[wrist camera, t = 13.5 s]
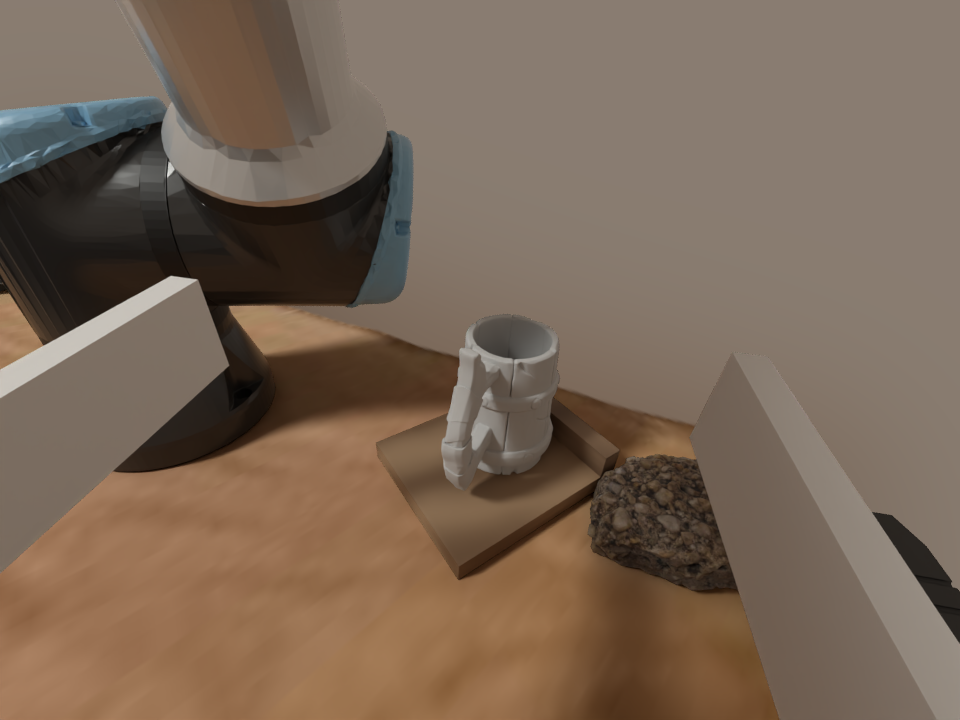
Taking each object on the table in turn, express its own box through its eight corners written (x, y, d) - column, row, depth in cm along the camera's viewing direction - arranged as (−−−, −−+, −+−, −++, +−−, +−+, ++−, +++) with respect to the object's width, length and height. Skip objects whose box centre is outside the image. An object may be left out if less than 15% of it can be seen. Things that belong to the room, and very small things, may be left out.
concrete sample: (760, 514, 32) (792, 468, 29) (764, 647, 24) (808, 603, 21) (608, 455, 36) (622, 409, 33) (571, 553, 28) (586, 505, 25)
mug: (562, 429, 35) (591, 300, 29) (499, 541, 27) (519, 393, 20) (482, 398, 38) (491, 273, 32) (401, 490, 30) (390, 345, 23)
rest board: (377, 456, 34) (373, 423, 32) (513, 397, 41) (516, 368, 39) (458, 579, 26) (459, 547, 24) (609, 481, 33) (619, 450, 31)
